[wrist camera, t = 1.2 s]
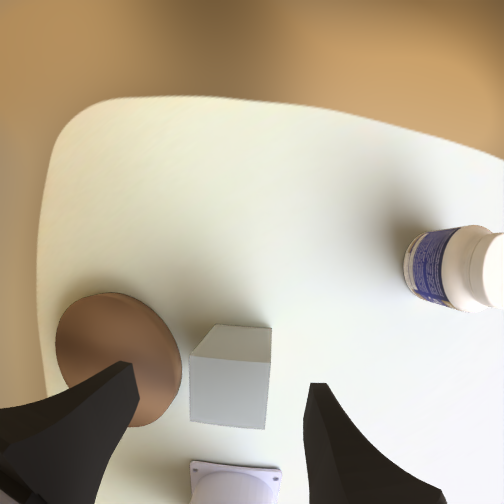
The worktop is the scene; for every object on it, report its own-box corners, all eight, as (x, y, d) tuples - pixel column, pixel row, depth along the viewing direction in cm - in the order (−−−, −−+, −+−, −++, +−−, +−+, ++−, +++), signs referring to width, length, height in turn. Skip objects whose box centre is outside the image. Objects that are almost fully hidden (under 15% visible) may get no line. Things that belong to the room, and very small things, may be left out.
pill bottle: (405, 306, 20) (473, 334, 11) (396, 237, 20) (465, 226, 11) (459, 291, 20) (533, 306, 11) (451, 227, 20) (526, 214, 11)
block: (267, 379, 21) (264, 429, 14) (214, 374, 21) (190, 421, 14) (271, 328, 21) (270, 363, 14) (215, 323, 21) (189, 355, 14)
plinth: (183, 427, 21) (176, 440, 19) (76, 398, 22) (64, 406, 20) (182, 300, 21) (173, 304, 19) (66, 285, 22) (51, 287, 20)
